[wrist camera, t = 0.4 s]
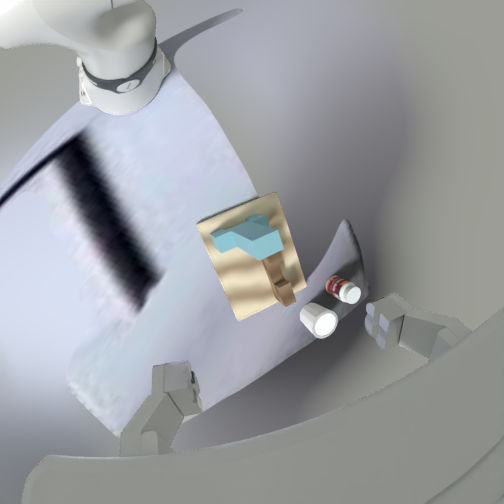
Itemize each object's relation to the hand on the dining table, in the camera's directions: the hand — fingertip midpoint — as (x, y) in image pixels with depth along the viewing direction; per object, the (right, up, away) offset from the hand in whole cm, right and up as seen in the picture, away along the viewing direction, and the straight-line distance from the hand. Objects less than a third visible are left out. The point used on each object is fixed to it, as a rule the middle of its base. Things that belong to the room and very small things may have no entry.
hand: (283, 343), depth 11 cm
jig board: (-1, +3, +47) cm, 47 cm away
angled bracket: (-4, +8, +43) cm, 44 cm away
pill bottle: (+18, -4, +55) cm, 58 cm away
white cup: (+13, -11, +55) cm, 57 cm away
